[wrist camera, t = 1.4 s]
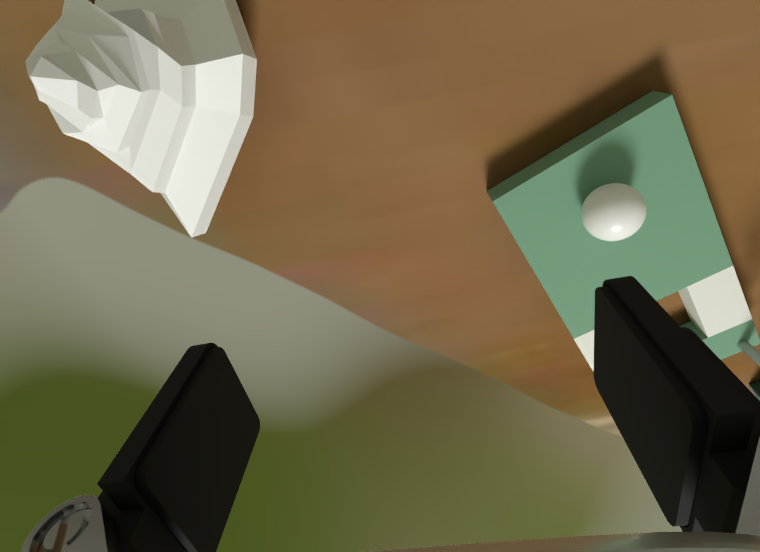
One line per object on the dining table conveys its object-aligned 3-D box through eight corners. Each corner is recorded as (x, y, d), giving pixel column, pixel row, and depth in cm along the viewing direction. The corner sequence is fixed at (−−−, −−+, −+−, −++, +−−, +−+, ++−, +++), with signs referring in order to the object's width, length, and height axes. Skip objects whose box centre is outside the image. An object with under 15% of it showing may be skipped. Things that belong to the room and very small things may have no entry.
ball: (617, 165, 31) (646, 181, 27) (637, 210, 32) (666, 230, 29) (563, 195, 32) (584, 214, 28) (585, 237, 33) (607, 260, 30)
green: (652, 90, 30) (762, 112, 21) (740, 326, 39) (845, 413, 30) (486, 191, 34) (518, 246, 25) (601, 385, 43) (655, 478, 34)
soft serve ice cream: (99, 138, 35) (-132, 132, 22) (167, -52, 30) (-80, -212, 17) (224, 227, 35) (69, 275, 22) (314, 51, 30) (183, -28, 17)
